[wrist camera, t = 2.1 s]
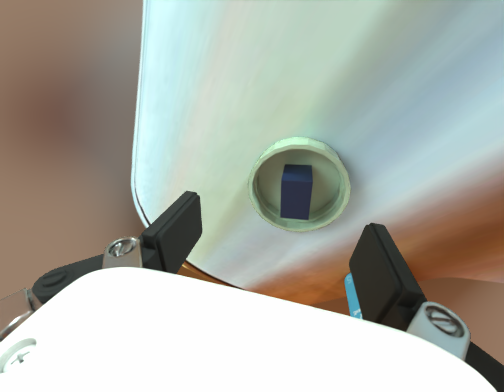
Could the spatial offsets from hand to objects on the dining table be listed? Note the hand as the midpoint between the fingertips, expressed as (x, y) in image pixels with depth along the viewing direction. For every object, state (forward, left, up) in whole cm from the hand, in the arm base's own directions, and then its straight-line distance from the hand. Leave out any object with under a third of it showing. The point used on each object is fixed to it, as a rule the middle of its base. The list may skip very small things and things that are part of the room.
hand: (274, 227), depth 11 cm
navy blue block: (-1, +9, -25) cm, 27 cm away
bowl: (-1, +9, -25) cm, 27 cm away
